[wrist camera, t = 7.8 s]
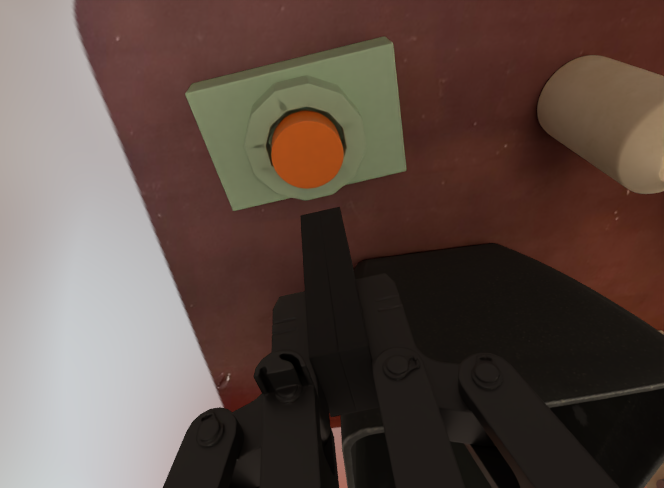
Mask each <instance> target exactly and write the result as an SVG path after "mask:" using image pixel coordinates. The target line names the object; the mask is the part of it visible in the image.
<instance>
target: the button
mask: <svg viewBox="0 0 664 488" xmlns="http://www.w3.org/2000/svg"><path fill="white" fill-rule="evenodd" d="M343 157H344V151H343V146H342V143H341V139H340V136H339V133H338V131H337V129H336V127H335V125H334V124H333V123H332V122H331V121H330V120H329V119H328V118H327V117H325V116H324V115H322V114H320V113H317V112H313V111H299V112H295V113H292V114H290V115H288V116H287V117H285V118H284V119H283V120H282V121H281V122H280V123H279V124H278V126H277V127H276V129H275V131H274V134H273V137H272V151H271V158H272V163H273V166H274V169H275V171H276V172H277V174H278V175H279V176H280V177H281V178H282V179H283V180H284V181H285V182H287V183H288V184H290V185H292V186H295V187H298V188H306V189H309V188H316V187H320V186H322V185H324V184H326V183H328V182H329V181H331V180H332V179H333V178H334V177H335V176H336V174H337V173H338V172H339V170H340V168H341V166H342V163H343Z"/></svg>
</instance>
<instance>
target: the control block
mask: <svg viewBox="0 0 664 488" xmlns="http://www.w3.org/2000/svg"><path fill="white" fill-rule="evenodd" d="M185 95H186V98H187V100H188V103H189V105H190V108H191V110H192V112H193V115H194V117H195V120H196V122H197V125H198V127H199V129H200V132H201V134H202V137H203V139H204V142H205V144H206V146H207V149H208V151H209V154H210V156H211V159H212V161H213V163H214V166H215V168H216V171H217V173H218V176H219V178H220V180H221V183H222V185H223V188H224V190H225V193H226V195H227V197H228V200H229V202H230V205H231V207H232V210H233V211H236V210H241V209H245V208H249V207H254V206H258V205H262V204H266V203H271V202H275V201H279V200H284V199H288V198H296V199H300V200H311V199H315V198H319V197H324V196H328V195H332V194H334V193H336V192H337V191H338V190H339V189H340V188H342V187H343V186H344V185H348V184H352V183H356V182H361V181H365V180H369V179H374V178H378V177H382V176H387V175H391V174H395V173H399V172H404V171H406V170H407V169H406V160H405V150H404V141H403V132H402V122H401V113H400V103H399V94H398V84H397V75H396V65H395V56H394V47H393V43H392V42H391V41H390V40H389V39H387V38H386V37H385V36H384V37H380V38H375V39H371V40H367V41H363V42H359V43H355V44H351V45H347V46H343V47H339V48H335V49H331V50H327V51H323V52H318V53H314V54H310V55H306V56H302V57H298V58H294V59H290V60H286V61H282V62H278V63H274V64H270V65H266V66H262V67H257V68H253V69H249V70H245V71H241V72H237V73H233V74H229V75H225V76H221V77H217V78H213V79H209V80H205V81H200V82H196V83H192V84H191V86H190V87H189V89H188V90H187V92H186V93H185ZM299 111H313V112H317V113H320V114H322V115H324V116H325V117H327V118H328V119H329V120H330V121H331V122H332V123H333V124H334V125H335V127H336V129H337V131H338V133H339V136H340V139H341V143H342V146H343V151H344V157H343V163H342V166H341V168H340V170H339V172H338V173H337V174H336V176H335V177H334V178H333V179H332V180H331V181H329V182H328V183H326V184H324V185H322V186H320V187H316V188H309V189H306V188H298V187H295V186H292V185H290V184H288V183H287V182H285V181H284V180H283V179H282V178H281V177H280V176H279V175H278V174H277V172H276V171H275V169H274V166H273V163H272V158H271V151H272V137H273V134H274V131H275V129H276V127H277V126H278V124H279V123H280V122H281V121H282V120H283V119H284V118H285V117H287V116H288V115H290V114H292V113H295V112H299Z"/></svg>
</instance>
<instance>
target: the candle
mask: <svg viewBox="0 0 664 488" xmlns="http://www.w3.org/2000/svg"><path fill="white" fill-rule="evenodd" d="M537 115H538V120H539V123H540V125H541V126H542V128H543V129H544V130H545V131H546V132H547V133H548V134H549V135H551V136H552V137H553V138H555V139H556V140H558V141H559V142H560V143H562V144H563V145H565V146H566V147H568V148H569V149H571V150H572V151H573V152H575V153H576V154H578V155H579V156H581V157H582V158H584V159H585V160H586V161H588V162H589V163H591V164H592V165H594V166H595V167H597V168H598V169H600V170H601V171H602V172H604V173H605V174H607V175H608V176H610V177H611V178H613V179H614V180H615V181H617V182H618V183H620V184H621V185H623V186H624V187H626V188H627V189H629V190H630V191H633V192H635V193H640V194H653V193H658V192H662V191H664V76H662V75H659V74H656V73H653V72H650V71H647V70H644V69H641V68H638V67H635V66H632V65H628V64H625V63H622V62H619V61H616V60H613V59H610V58H607V57H603V56H597V55H588V56H583V57H579V58H576V59H574V60H572V61H570V62H568V63H567V64H565V65H564V66H562V67H561V68H560V69H559V70H557V71H556V72H555V73H554V74H553V75H552V77H551V78H550V79H549V80H548V82H547V83H546V85H545V86H544V88H543V90H542V92H541V95H540V97H539V101H538V106H537Z"/></svg>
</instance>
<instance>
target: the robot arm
mask: <svg viewBox="0 0 664 488" xmlns="http://www.w3.org/2000/svg"><path fill="white" fill-rule="evenodd" d="M300 217H301V233H302V250H303V267H304V284H305V291H304V292H299V293H295V294H290V295H285V296H281V297H279V299H278V301H277V303H276V304H275V306H274V308H273V325H272V334H273V335H272V353H270V354H269V355H267V356H266V357H265V358H263V359H262V360H261V361H260V363H259V364H258V366H257V367H256V369H255V373H254V379H255V380H256V382H257V384H258V386H259V388H260V390H261V392H262V394H261V395H260V396H259V397H258V398H257V399H255V400H254V401H252V402H251V403H249V404H247V405H245V406H243V407H242V408H240V409H238V410H236V411H234V412H231V411H229V410H228V409H225V408H213V409H209V410H208V411H206V412H204V413H202V414H200V415H199V416H198V417H197V418H196V419H195V420H194V421H193V422H192V423H191V425H190V427H189V429H188V430H187V432H186V434H185V436H184V439H183V441H182V444H181V446H180V448H179V451H178V453H177V455H176V458H175V460H174V462H173V465H172V467H171V470H170V472H169V475H168V477H167V479H166V481H165V484H164V486H163V488H339V482H338V474H337V473H338V472H337V462H336V453H335V443H334V436H333V433H332V430H331V427H330V420H329V413H330V415H331V417H334V416H339V415H344V414H349V413H353V412H358V411H363V410H368V409H373V408H378V407H380V412H381V417H382V422H383V427H384V432H385V437H386V442H387V447H388V452H389V456H390V461H391V466H392V471H393V476H394V481H395V486H396V488H465V485H464V482H463V479H462V476H461V473H460V470H459V467H458V464H457V461H456V458H455V455H454V452H453V449H452V446H451V443H450V441H452V442H459V443H464V444H465V446H466V447H467V449H468V451H469V452H470V454H471V455H472V457H473V459H474V460H475V462H476V463H477V465H478V466H479V468H480V470H481V471H482V473H483V474H484V476H485V477H486V479H487V481H488V482H489V484H490V485H491V487H492V488H619V486H618V485H617V484H616V483H615V482H614V481H613V480H612V478H611V477H610V476H609V475H608V474H607V473H606V472H605V471H604V469H603V468H602V467H601V466H600V465H599V464H598V463H597V462H596V460H595V459H594V458H593V457H592V456H591V455H590V454H589V452H588V451H587V450H586V449H585V448H584V447H583V446H582V445H581V443H580V442H579V441H578V440H577V439H576V438H575V437H574V435H573V434H572V433H571V432H570V431H569V430H568V429H567V428H566V426H565V425H564V424H563V423H562V422H561V421H560V420H559V418H558V417H557V416H556V415H555V414H554V413H553V412H552V411H551V409H550V408H549V407H548V406H547V405H546V404H545V403H544V401H543V400H542V399H541V398H540V397H539V396H538V395H537V394H536V392H535V391H534V390H533V389H532V388H531V387H530V386H529V385H528V383H527V382H526V381H525V380H524V379H523V378H522V377H521V375H520V374H519V373H518V372H517V371H516V370H515V369H514V368H513V366H512V365H511V364H510V363H508V362H507V361H506V360H505V359H503V358H502V357H500V356H497V355H494V354H492V353H476V354H472V355H470V356H468V357H467V358H465V359H464V360H463V361H462V362H461V364H457V363H446V362H440V361H435V360H433V359H430V358H428V357H427V356H425V355H424V354H422V353H421V351H420V350H419V349H418V348H417V346H416V344H415V342H414V339H413V336H412V333H411V330H410V327H409V323H408V320H407V317H406V314H405V311H404V308H403V306H402V302H401V299H400V297H399V293H398V290H397V287H396V284H395V282H394V281H393V280H392V279H391V278H390V277H389V276H388V275H387V274H386V273H383V274H378V275H374V276H369V277H364V278H360V279H355V274H354V269H353V264H352V260H351V255H350V251H349V247H348V242H347V238H346V233H345V229H344V224H343V220H342V215H341V211H340V207H337V208H332V209H328V210H324V211H319V212H315V213H310V214H306V215H301V216H300Z"/></svg>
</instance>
